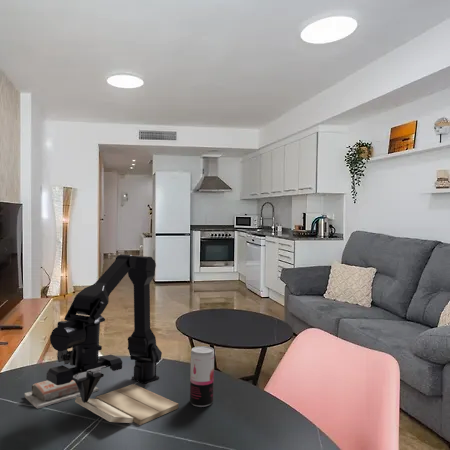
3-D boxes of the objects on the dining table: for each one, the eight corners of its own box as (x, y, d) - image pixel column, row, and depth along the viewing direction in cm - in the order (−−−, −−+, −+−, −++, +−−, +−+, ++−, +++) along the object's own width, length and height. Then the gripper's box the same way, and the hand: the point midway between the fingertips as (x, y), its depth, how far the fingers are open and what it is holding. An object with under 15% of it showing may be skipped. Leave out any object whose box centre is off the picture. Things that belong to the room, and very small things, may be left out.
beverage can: (217, 403, 118) (218, 350, 118) (198, 409, 114) (199, 354, 114) (204, 395, 124) (205, 344, 123) (185, 401, 120) (186, 348, 119)
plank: (96, 403, 116) (98, 398, 117) (132, 423, 106) (133, 417, 106) (74, 401, 111) (76, 396, 112) (109, 421, 101) (111, 416, 101)
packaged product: (83, 367, 132) (99, 376, 125) (83, 382, 133) (99, 392, 125) (23, 381, 120) (37, 392, 113) (23, 398, 120) (37, 410, 113)
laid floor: (133, 387, 128) (133, 383, 128) (178, 408, 115) (178, 403, 115) (95, 401, 118) (95, 396, 118) (140, 425, 105) (140, 420, 105)
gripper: (101, 330, 122) (99, 384, 121) (37, 341, 107) (34, 402, 107) (124, 337, 114) (122, 395, 114) (59, 350, 100) (56, 416, 100)
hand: (84, 401), depth 109 cm, fingers closed, pressing on plank
